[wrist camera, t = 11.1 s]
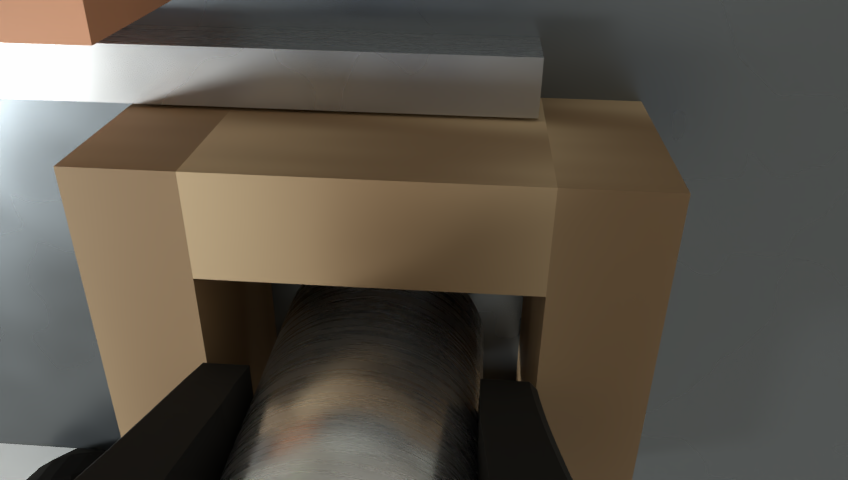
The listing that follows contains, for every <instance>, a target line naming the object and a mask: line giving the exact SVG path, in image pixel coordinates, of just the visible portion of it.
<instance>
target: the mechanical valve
mask: <svg viewBox="0 0 848 480" xmlns="http://www.w3.org/2000/svg"><path fill="white" fill-rule="evenodd" d="M106 451H107V450H98V449H83V448H77V449H75V450H73V451H71V452H68V453H66V454H64V455H62V456H60V457H58V458H56V459H54V460H52V461H50V462H49V463H47V464H45V465H43V466H42V467H40V468H39V469H38V470H37V471H36V472H34V473H33V474H32V475H31V476H30V477H29V478H28V479H27V480H74V479H75V478H76V477H77V476H79V475H80V474H81V473H82V472H83V471H84V470H85V469H86V468H88V467H89V466H90V465H91V464H92V463H93V462H94V461H95V460H97V459H98V458H99V457H100V456H101V455H102V454H103V453H104V452H106Z"/></svg>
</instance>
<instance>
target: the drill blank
mask: <svg viewBox="0 0 848 480" xmlns="http://www.w3.org/2000/svg"><path fill="white" fill-rule="evenodd" d="M480 379H483V327H482V322H481V319H480V316H479V313H478V310H477V308H476V306H475V304H474V302H473V301H472V299H471V298H470V296H469V295H468V294H467V293H459V292H440V291H421V290H402V289H382V288H363V287H344V286H324V285H305V284H302V285H301V286H300V288H299V289H298V291H297V292H296V294H295V296H294V298H293V300H292V303H291V305H290V308H289V310H288V312H287V315H286V317H285V320H284V322H283V325H282V327H281V330H280V332H279V335H278V337H277V339H276V342H275V344H274V347H273V349H272V352H271V354H270V357H269V359H268V362H267V364H266V366H265V369H264V371H263V374H262V376H261V379H260V381H259V384H258V386H257V389H256V391H255V394H254V396H253V398H252V401H251V403H250V406H249V408H248V411H247V413H246V416H245V418H244V421H243V423H242V425H241V428H240V430H239V433H238V435H237V438H236V440H235V443H234V445H233V448H232V450H231V452H230V455H229V457H228V460H227V462H226V465H225V467H224V470H223V472H222V475H221V477H220V480H478V479H477V450H478V408H479V392H480Z"/></svg>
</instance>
